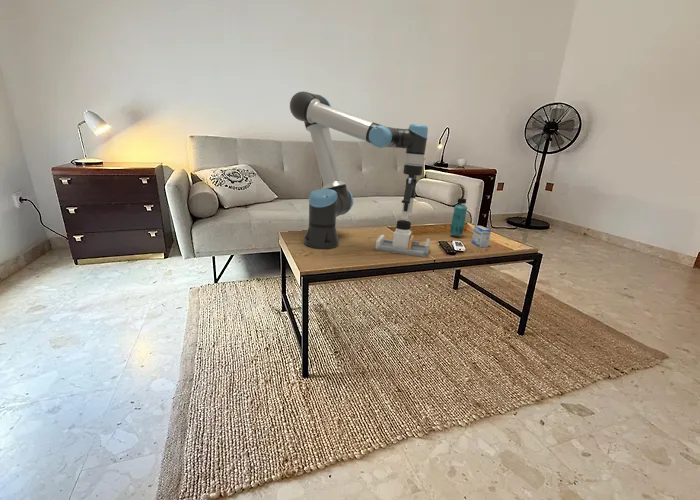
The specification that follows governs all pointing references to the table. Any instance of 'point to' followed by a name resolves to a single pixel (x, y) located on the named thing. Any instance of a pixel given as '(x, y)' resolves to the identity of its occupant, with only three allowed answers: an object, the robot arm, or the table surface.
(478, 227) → the medicine box
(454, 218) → the beverage bottle
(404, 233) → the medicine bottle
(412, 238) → the pusher
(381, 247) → the lane
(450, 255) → the table surface
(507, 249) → the table surface
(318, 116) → the robot arm
